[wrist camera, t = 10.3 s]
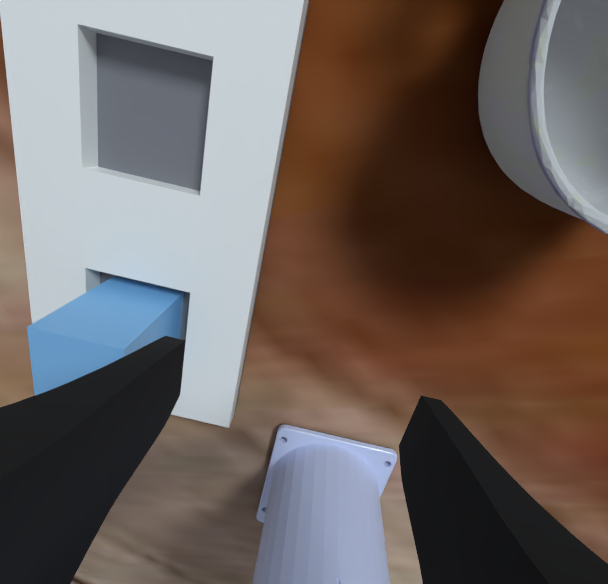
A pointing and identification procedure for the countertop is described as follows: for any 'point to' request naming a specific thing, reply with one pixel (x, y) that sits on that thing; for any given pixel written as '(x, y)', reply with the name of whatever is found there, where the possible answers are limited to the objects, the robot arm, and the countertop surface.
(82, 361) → the plug
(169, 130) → the panel
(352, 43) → the countertop surface
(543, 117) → the teacup
